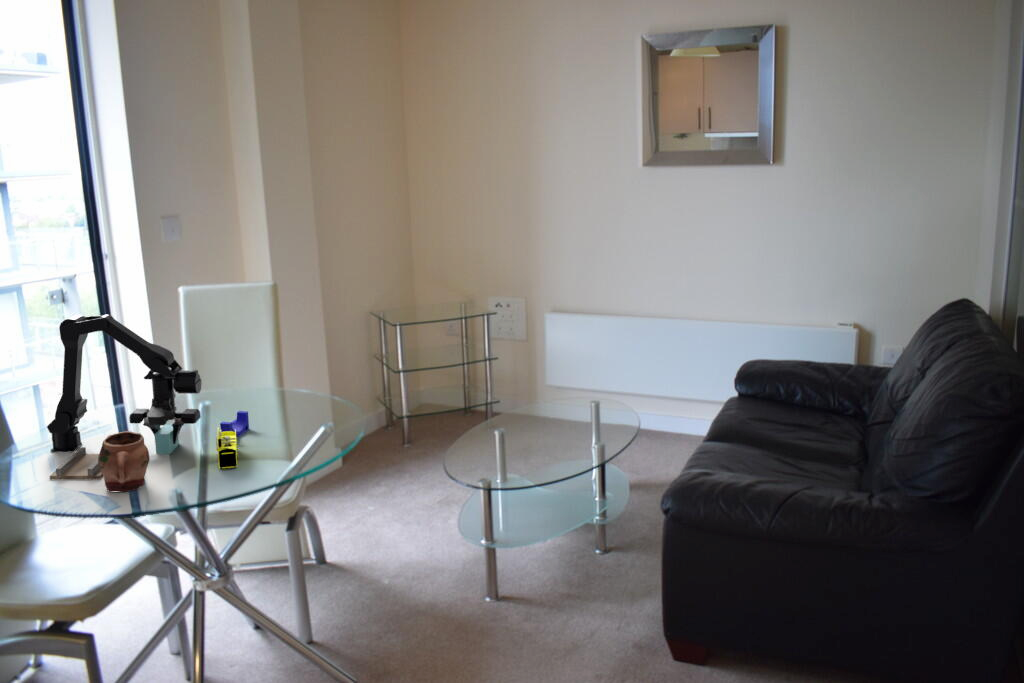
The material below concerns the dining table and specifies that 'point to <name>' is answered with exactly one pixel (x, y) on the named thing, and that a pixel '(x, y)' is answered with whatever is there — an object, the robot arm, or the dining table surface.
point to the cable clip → (237, 424)
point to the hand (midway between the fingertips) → (167, 443)
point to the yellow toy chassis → (227, 449)
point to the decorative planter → (123, 461)
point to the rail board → (79, 467)
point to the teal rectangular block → (165, 440)
